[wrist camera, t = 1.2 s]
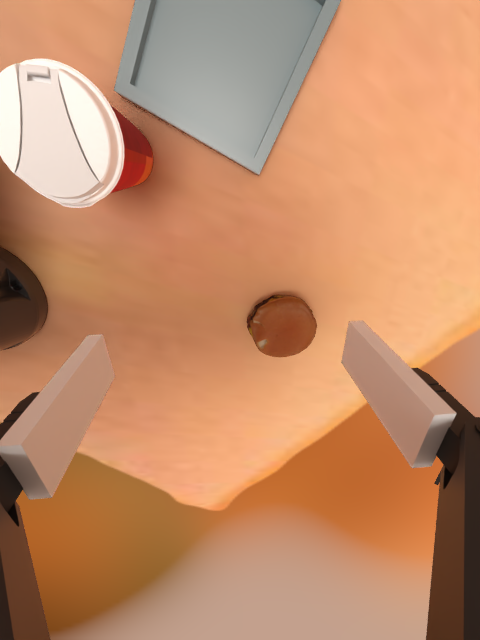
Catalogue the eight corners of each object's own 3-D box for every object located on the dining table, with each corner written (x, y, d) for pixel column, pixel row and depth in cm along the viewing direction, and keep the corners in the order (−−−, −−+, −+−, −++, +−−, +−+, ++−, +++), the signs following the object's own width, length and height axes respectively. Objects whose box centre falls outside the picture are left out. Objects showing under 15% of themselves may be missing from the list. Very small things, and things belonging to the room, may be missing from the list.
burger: (324, 318, 41) (334, 334, 37) (279, 356, 44) (284, 374, 40) (280, 276, 38) (286, 288, 34) (234, 320, 41) (235, 335, 37)
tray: (120, 95, 28) (113, 90, 26) (176, -129, 22) (172, -157, 20) (257, 175, 32) (259, 174, 30) (337, 3, 26) (345, -10, 24)
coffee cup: (81, 105, 28) (-47, 38, 15) (162, 115, 29) (108, 59, 16) (94, 194, 32) (0, 203, 19) (165, 200, 33) (123, 214, 19)
